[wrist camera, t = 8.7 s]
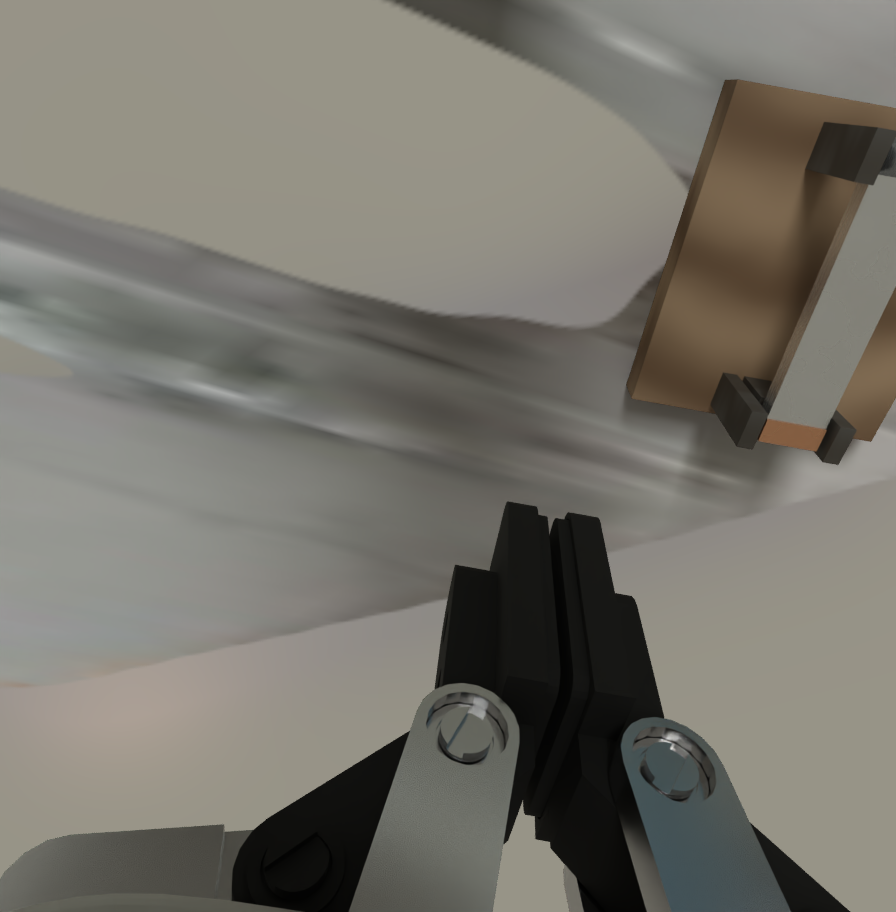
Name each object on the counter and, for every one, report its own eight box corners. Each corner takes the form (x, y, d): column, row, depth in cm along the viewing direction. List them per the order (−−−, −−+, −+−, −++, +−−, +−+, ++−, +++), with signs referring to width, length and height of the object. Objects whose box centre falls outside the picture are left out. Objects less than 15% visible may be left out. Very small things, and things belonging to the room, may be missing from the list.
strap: (873, 135, 27) (894, 135, 26) (943, 147, 27) (967, 149, 26) (748, 430, 34) (759, 443, 32) (804, 440, 34) (817, 454, 32)
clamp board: (725, 80, 31) (777, 78, 25) (1013, 132, 31) (1137, 143, 25) (626, 384, 39) (647, 439, 33) (854, 425, 39) (918, 488, 33)
